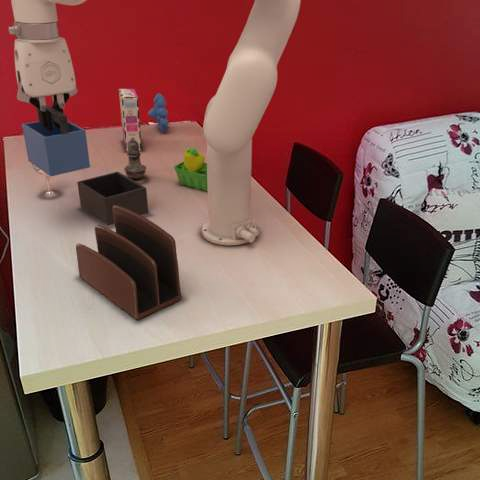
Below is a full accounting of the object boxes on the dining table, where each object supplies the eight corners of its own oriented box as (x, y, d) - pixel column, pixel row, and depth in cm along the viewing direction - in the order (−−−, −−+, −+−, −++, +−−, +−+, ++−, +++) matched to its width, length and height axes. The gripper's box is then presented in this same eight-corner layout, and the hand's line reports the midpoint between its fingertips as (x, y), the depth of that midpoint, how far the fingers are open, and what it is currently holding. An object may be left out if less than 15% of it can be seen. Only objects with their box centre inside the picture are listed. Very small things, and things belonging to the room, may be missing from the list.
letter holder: (122, 261, 119) (115, 198, 112) (182, 300, 108) (178, 233, 101) (78, 278, 113) (68, 212, 106) (137, 321, 102) (129, 252, 94)
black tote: (148, 215, 138) (146, 187, 135) (108, 227, 132) (104, 199, 128) (120, 197, 146) (117, 171, 143) (81, 208, 140) (77, 181, 136)
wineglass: (66, 192, 148) (59, 146, 142) (53, 200, 143) (45, 154, 137) (46, 189, 149) (38, 144, 143) (33, 197, 145) (24, 151, 138)
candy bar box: (143, 151, 176) (138, 96, 168) (126, 152, 175) (120, 97, 166) (139, 139, 185) (134, 87, 177) (123, 140, 184) (117, 88, 175)
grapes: (146, 126, 197) (143, 90, 191) (165, 125, 200) (163, 89, 193) (152, 136, 188) (150, 99, 182) (173, 135, 190) (171, 98, 184)
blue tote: (90, 167, 121) (83, 112, 115) (50, 176, 116) (41, 119, 110) (66, 153, 128) (58, 100, 122) (28, 161, 123) (18, 106, 116)
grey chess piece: (135, 186, 153) (131, 142, 147) (120, 180, 156) (115, 137, 150) (151, 180, 157) (148, 137, 151) (137, 174, 160) (133, 132, 154)
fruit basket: (224, 184, 156) (224, 144, 150) (206, 195, 149) (205, 153, 144) (189, 176, 161) (187, 136, 155) (170, 186, 154) (168, 145, 148)
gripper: (3, 37, 101) (22, 140, 111) (86, 31, 111) (97, 126, 120) (-13, 31, 106) (7, 130, 115) (68, 25, 115) (80, 117, 125)
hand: (53, 127), depth 118 cm, fingers closed on blue tote
